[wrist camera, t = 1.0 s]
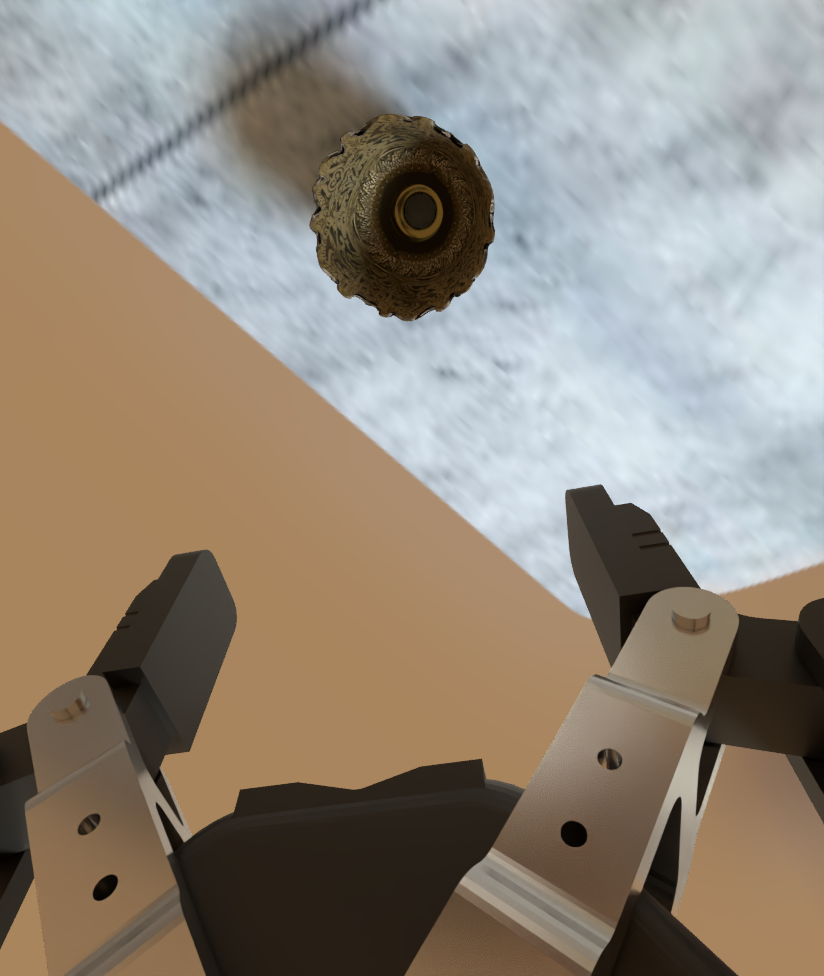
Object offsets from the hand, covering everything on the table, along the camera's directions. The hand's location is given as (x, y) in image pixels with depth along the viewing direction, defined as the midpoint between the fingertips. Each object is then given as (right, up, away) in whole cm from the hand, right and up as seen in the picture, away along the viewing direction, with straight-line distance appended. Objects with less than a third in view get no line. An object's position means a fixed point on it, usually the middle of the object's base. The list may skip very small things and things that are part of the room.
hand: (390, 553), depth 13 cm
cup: (+1, +16, +17) cm, 23 cm away
